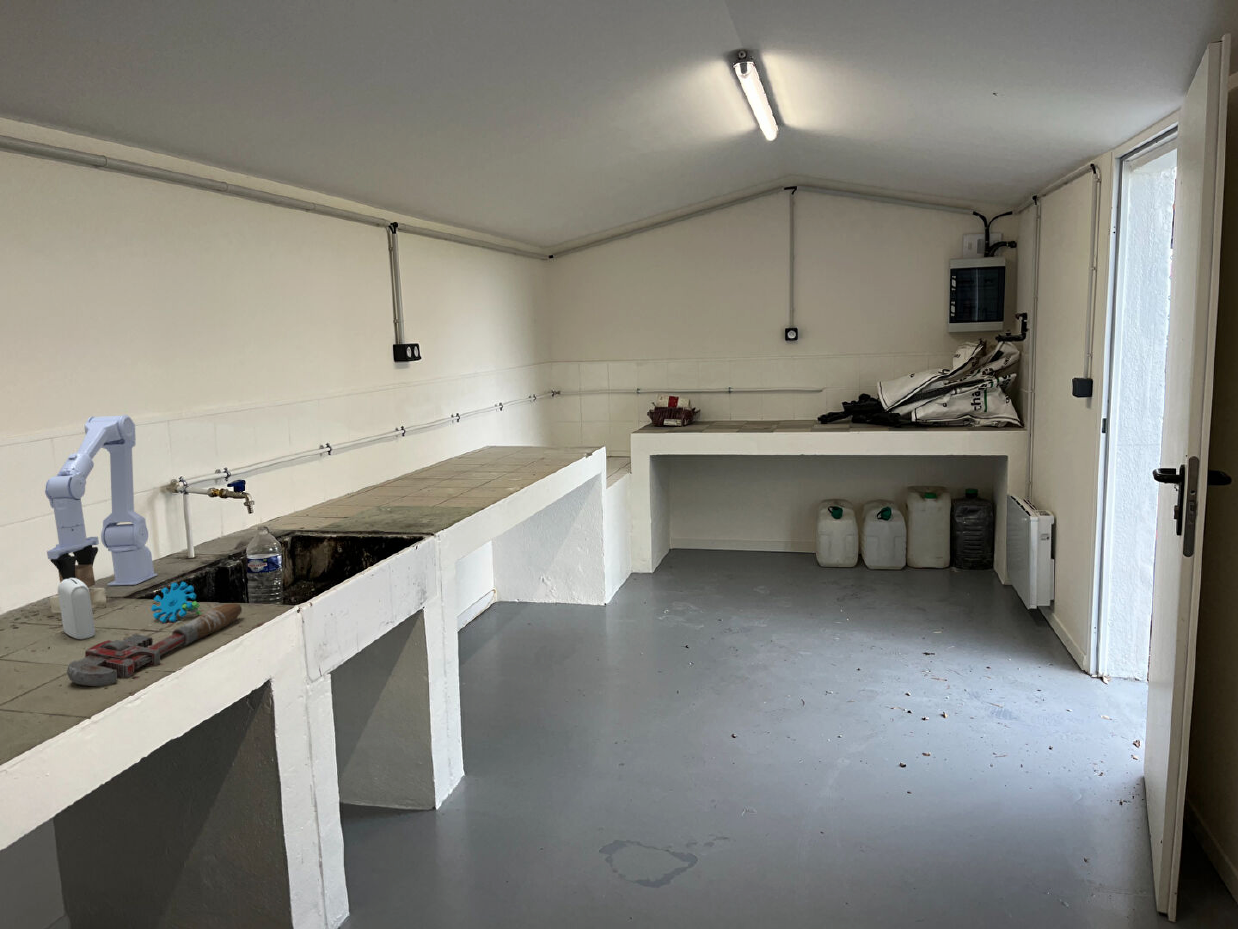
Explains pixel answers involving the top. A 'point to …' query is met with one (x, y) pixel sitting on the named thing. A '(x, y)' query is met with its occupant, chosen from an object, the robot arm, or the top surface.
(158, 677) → the top surface
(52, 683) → the top surface
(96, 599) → the birch block
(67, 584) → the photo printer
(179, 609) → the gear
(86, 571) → the walnut cube
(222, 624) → the pipe wrench
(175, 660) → the top surface
